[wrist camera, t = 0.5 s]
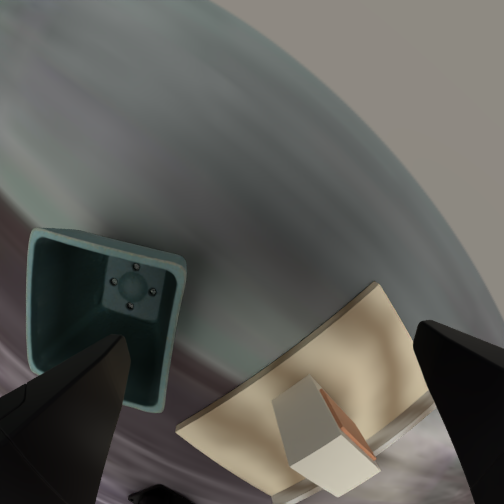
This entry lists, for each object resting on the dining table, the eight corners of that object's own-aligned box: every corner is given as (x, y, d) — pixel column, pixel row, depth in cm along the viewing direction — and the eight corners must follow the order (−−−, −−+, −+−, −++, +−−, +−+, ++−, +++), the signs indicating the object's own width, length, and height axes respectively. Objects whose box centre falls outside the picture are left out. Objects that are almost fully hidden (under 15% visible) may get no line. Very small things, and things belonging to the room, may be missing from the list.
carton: (313, 438, 25) (338, 497, 17) (271, 400, 24) (289, 466, 16) (349, 413, 25) (383, 468, 17) (311, 372, 24) (344, 432, 16)
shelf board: (275, 493, 27) (279, 511, 24) (176, 425, 24) (172, 446, 22) (433, 385, 27) (447, 398, 24) (373, 281, 24) (391, 290, 21)
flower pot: (202, 242, 22) (189, 266, 13) (180, 348, 23) (162, 417, 15) (93, 217, 21) (29, 225, 12) (81, 321, 22) (28, 371, 13)
